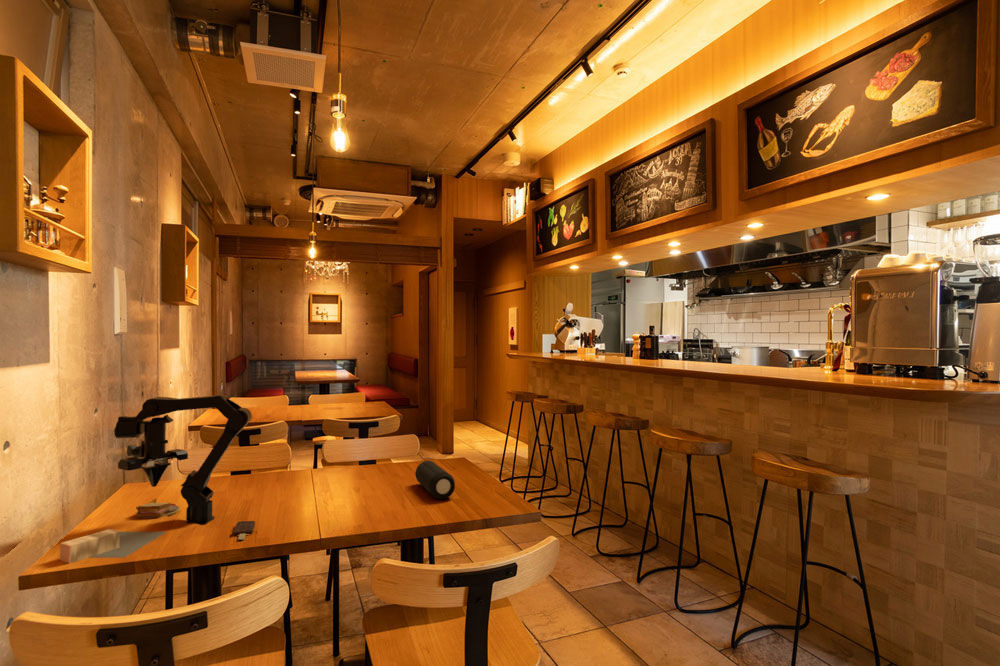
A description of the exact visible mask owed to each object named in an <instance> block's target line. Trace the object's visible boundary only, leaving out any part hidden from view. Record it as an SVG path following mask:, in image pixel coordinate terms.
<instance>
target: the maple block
mask: <svg viewBox="0 0 1000 666" xmlns="http://www.w3.org/2000/svg"><path fill="white" fill-rule="evenodd" d="M120 532H121V531H120V530H117V529H112V528H108V529H105V530H101V531H98V532H95V533H91V534H87V535H84V536H81V537H76V538H74V539H70V540H66V541H62V542H60V543H59V560H60V561H61V562H64V563H67V564H72V563H75V562H78V561H83V560H85V559H88V557H92V556H95V555H98V554H101V553H104V552H107V551H111V550H114V549H117V548H119V535H120Z"/></svg>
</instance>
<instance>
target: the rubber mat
mask: <svg viewBox="0 0 1000 666" xmlns="http://www.w3.org/2000/svg"><path fill="white" fill-rule="evenodd" d="M119 532H120V535H119V548H117V549H114V550H111V551H107V552H104V553H101V554H98V555H95V556H92V557H88V558H92V559H93V558H94V559H98V558H101V559H102V558H105V559H106V558H111V559H112V558H119V559H120V558H123V559H124V558H126V557H128V556H130V555H132V554H134V553H135V552H137V551H138V550H140V549H142V548H143V547H144V546H147V545H148V544H149V543H151V542H153V541H155V540H156V539H158V538H159V537H162V536H163V535H165V534H166V533H167V531H119ZM88 558H87V559H88Z"/></svg>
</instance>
